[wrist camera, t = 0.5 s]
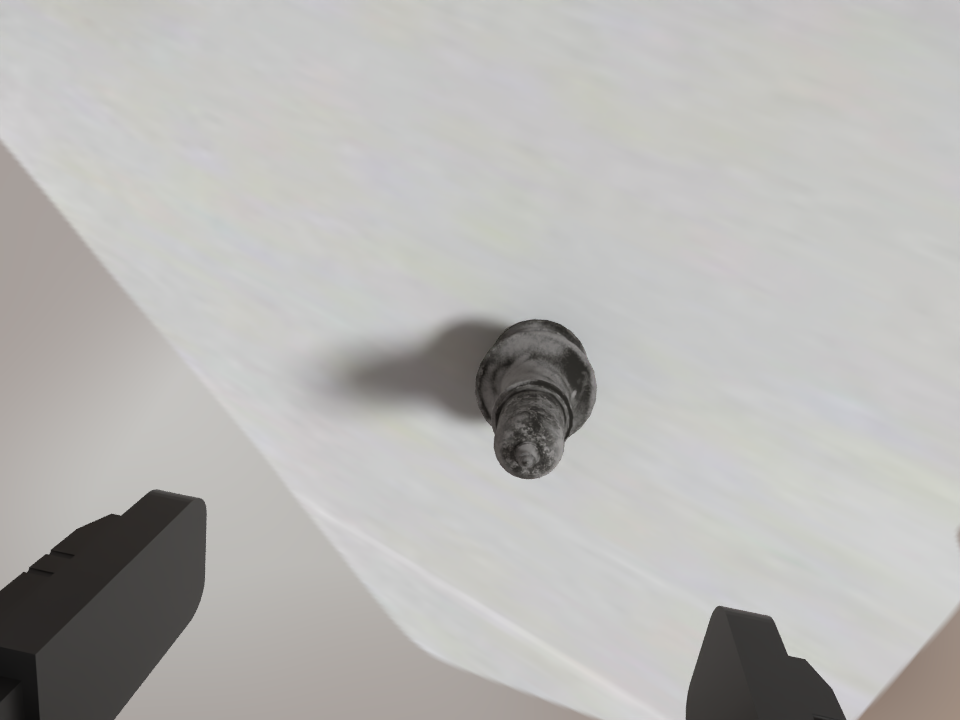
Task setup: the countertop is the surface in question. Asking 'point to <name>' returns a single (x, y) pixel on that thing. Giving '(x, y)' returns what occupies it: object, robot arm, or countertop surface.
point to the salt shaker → (535, 395)
